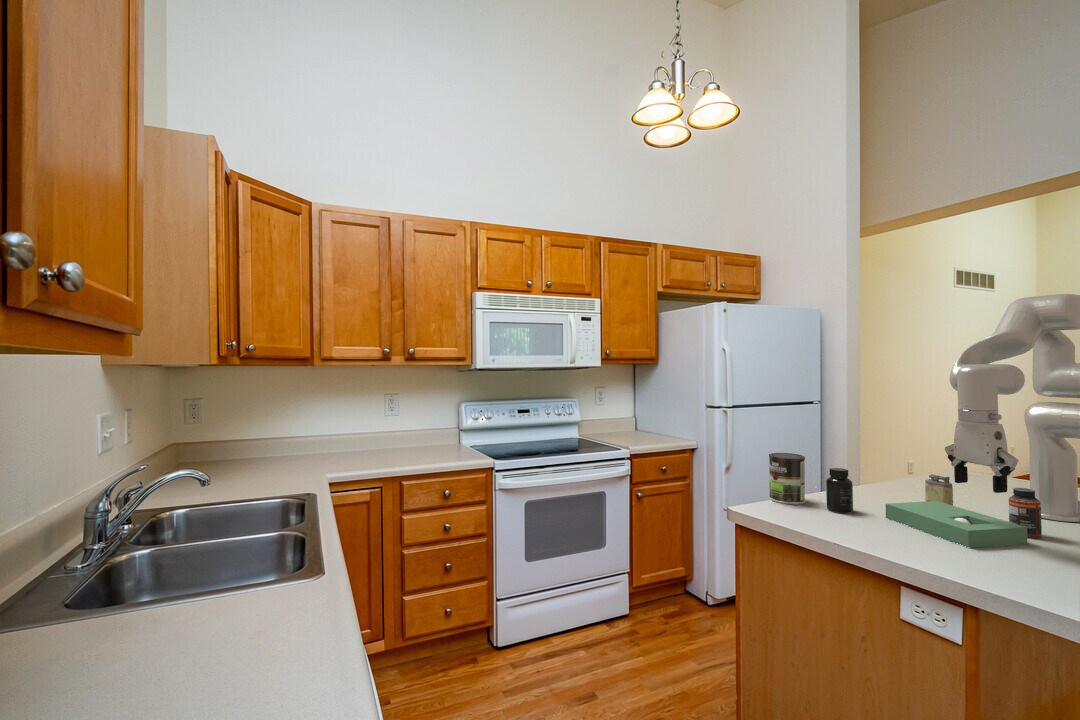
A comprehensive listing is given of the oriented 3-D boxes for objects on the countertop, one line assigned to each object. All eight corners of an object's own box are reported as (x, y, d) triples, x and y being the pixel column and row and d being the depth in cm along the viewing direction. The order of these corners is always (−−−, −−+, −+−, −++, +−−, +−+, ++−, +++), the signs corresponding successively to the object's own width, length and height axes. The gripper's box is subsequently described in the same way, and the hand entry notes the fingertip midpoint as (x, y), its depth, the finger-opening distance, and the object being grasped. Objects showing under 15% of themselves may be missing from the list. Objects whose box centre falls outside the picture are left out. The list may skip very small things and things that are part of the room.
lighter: (922, 507, 156) (921, 473, 156) (930, 505, 157) (929, 472, 157) (949, 513, 149) (948, 478, 149) (956, 511, 151) (956, 477, 151)
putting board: (936, 515, 147) (936, 500, 147) (1027, 544, 124) (1027, 527, 124) (885, 518, 145) (885, 503, 145) (968, 548, 121) (968, 530, 121)
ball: (962, 534, 132) (957, 518, 133) (977, 534, 128) (973, 517, 130) (949, 534, 131) (945, 518, 132) (964, 534, 127) (960, 517, 129)
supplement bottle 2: (1033, 532, 132) (1032, 487, 132) (1047, 539, 126) (1046, 492, 126) (1004, 530, 134) (1003, 485, 134) (1016, 537, 128) (1015, 491, 128)
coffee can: (788, 506, 158) (788, 459, 158) (762, 498, 167) (761, 454, 167) (813, 502, 162) (812, 456, 162) (785, 494, 171) (785, 451, 171)
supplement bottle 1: (853, 509, 154) (853, 468, 154) (853, 515, 148) (852, 472, 148) (827, 506, 158) (826, 466, 158) (825, 511, 152) (824, 470, 152)
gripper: (1029, 420, 119) (1031, 495, 119) (958, 412, 136) (960, 478, 136) (1000, 421, 118) (1003, 497, 118) (932, 414, 135) (934, 480, 135)
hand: (980, 487), depth 127 cm, fingers open, 9 cm apart
